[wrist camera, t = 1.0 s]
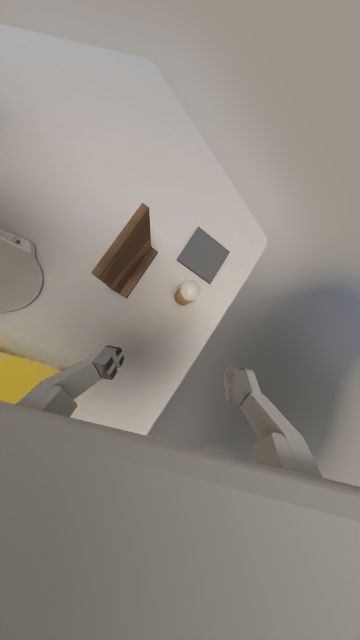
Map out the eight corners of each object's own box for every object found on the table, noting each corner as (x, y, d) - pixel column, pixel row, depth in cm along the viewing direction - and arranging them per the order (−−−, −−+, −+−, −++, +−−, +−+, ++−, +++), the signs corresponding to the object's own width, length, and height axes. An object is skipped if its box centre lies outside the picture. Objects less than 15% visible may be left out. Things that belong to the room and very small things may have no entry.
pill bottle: (171, 299, 34) (176, 293, 26) (180, 286, 34) (187, 276, 26) (184, 308, 34) (193, 304, 26) (192, 295, 35) (204, 287, 27)
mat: (176, 260, 34) (177, 259, 33) (197, 228, 35) (198, 226, 34) (209, 284, 36) (210, 283, 35) (228, 252, 37) (229, 251, 36)
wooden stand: (108, 286, 31) (78, 265, 19) (140, 240, 32) (132, 194, 20) (126, 298, 31) (110, 284, 20) (157, 253, 33) (158, 215, 21)
